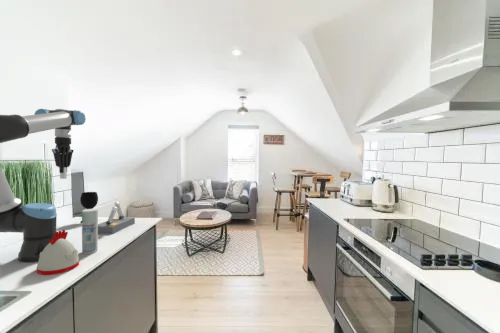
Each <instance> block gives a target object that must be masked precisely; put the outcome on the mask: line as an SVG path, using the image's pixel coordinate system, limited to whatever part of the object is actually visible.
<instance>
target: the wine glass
mask: <svg viewBox="0 0 500 333" xmlns="http://www.w3.org/2000/svg"><path fill="white" fill-rule="evenodd" d="M80 194H81V195H80V204H81V206H82V207H83V208H84V209H95V208H96V206H97V204H99V195H98V192H96V191H84V192H82V193H80ZM80 223H81V224H82V220H81V221H80Z"/></svg>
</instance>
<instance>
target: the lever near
mask: <svg viewBox="0 0 500 333" xmlns="http://www.w3.org/2000/svg"><path fill="white" fill-rule="evenodd" d="M116 212H117V207H116V206H113V207H112V208H111V212H110V214H109V216H108V219H107V220H106V221H107V222H106V221H105V222H106V224H107V225H109V224H111V223H112V220H113V219H114V218H115V216H116V215H115V214H116Z"/></svg>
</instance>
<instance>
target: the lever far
mask: <svg viewBox="0 0 500 333" xmlns="http://www.w3.org/2000/svg"><path fill="white" fill-rule="evenodd" d="M114 207H117V210H116V212H117V215H118V217H119V219H122V218H124V217H125V215H124V214H123V211H122V208H121V206H120V202H118V201H115V203H114Z"/></svg>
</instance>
